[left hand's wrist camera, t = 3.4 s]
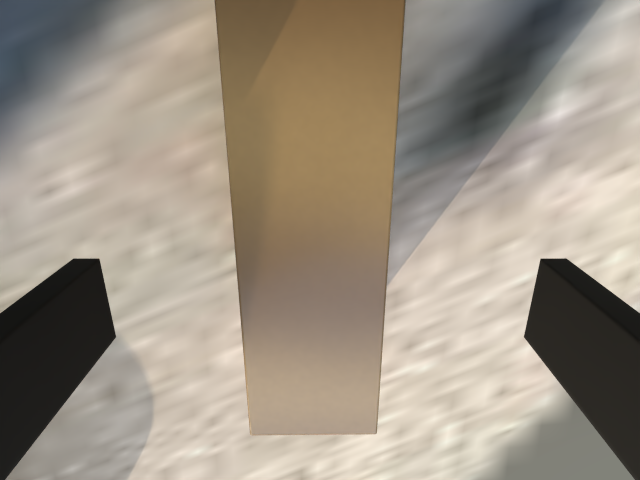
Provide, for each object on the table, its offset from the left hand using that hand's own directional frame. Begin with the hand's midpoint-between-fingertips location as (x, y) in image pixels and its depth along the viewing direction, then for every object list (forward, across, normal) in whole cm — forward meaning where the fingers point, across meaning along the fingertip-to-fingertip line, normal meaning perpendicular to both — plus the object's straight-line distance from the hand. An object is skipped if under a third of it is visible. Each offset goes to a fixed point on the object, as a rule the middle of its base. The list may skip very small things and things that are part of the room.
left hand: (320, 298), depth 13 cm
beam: (+9, 0, -29) cm, 30 cm away
